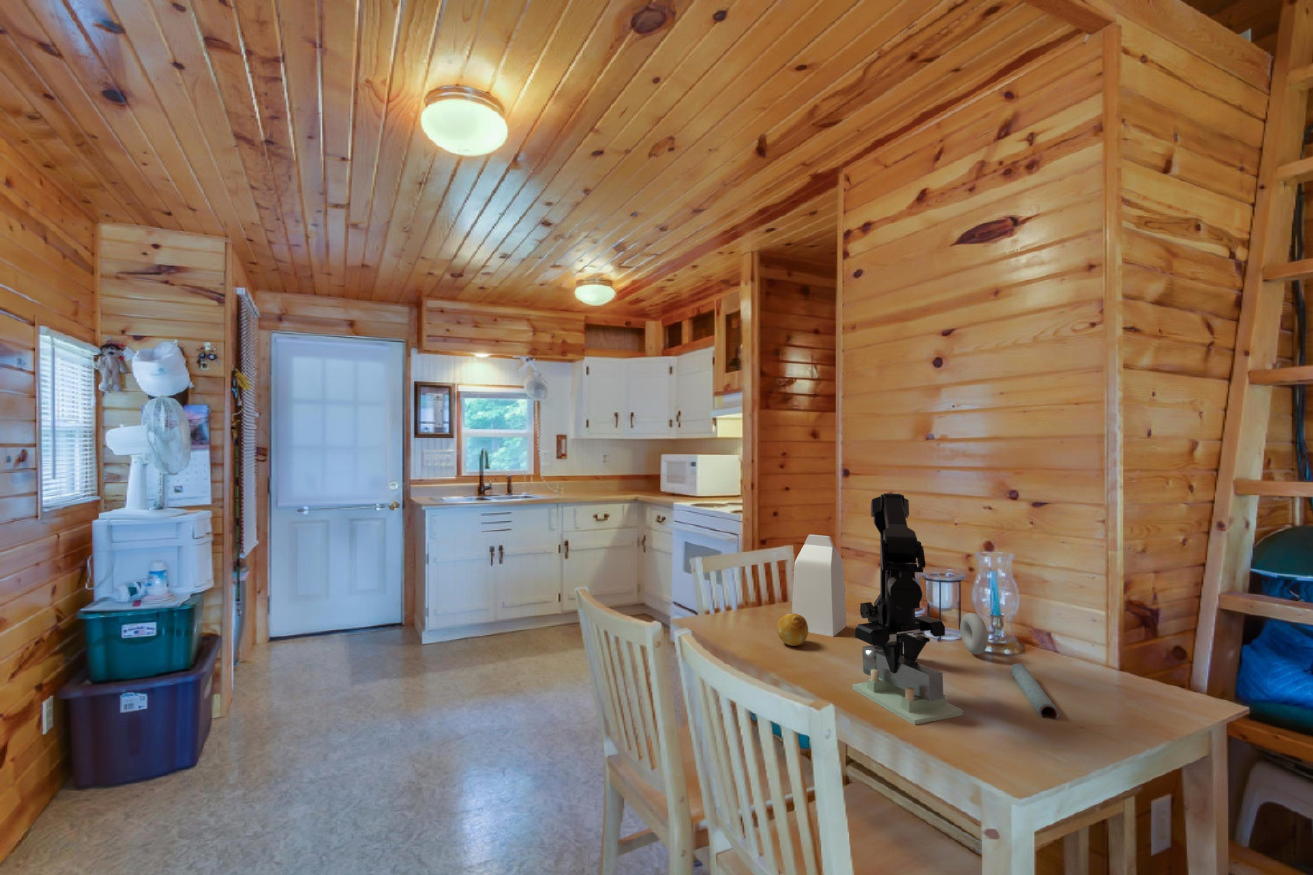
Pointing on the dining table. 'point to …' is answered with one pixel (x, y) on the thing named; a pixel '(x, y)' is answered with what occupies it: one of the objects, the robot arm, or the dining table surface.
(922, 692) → the long grey rectangular beam
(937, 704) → the rack
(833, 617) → the milk
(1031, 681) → the aluminum foil
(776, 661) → the dining table surface
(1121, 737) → the dining table surface
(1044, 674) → the dining table surface
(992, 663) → the dining table surface
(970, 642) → the donut
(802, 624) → the fruit
